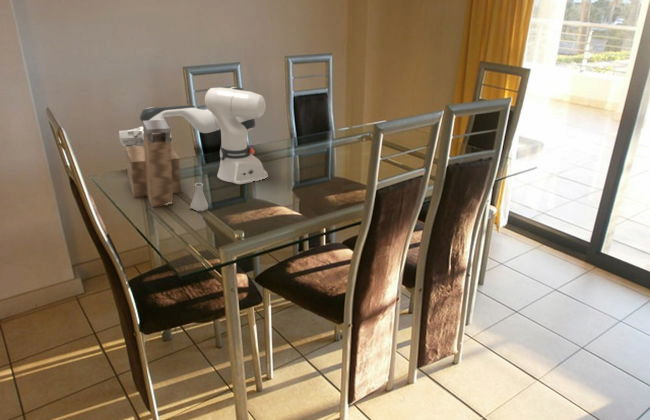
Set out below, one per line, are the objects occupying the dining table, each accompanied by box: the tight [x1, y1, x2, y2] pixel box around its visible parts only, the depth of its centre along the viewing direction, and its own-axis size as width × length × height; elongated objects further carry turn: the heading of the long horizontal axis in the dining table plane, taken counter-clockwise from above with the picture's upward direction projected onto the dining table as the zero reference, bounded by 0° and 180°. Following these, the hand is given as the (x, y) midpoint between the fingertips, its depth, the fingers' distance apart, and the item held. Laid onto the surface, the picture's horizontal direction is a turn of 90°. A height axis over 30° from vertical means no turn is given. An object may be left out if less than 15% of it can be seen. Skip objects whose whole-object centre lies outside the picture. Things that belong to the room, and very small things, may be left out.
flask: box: [189, 182, 209, 212], centre depth 198 cm, size 7×7×10 cm
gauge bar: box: [139, 126, 144, 140], centre depth 207 cm, size 4×22×3 cm, turn 27°
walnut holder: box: [125, 120, 181, 208], centre depth 202 cm, size 18×26×31 cm
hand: (146, 131), depth 213 cm, fingers closed on gauge bar, 4 cm apart
